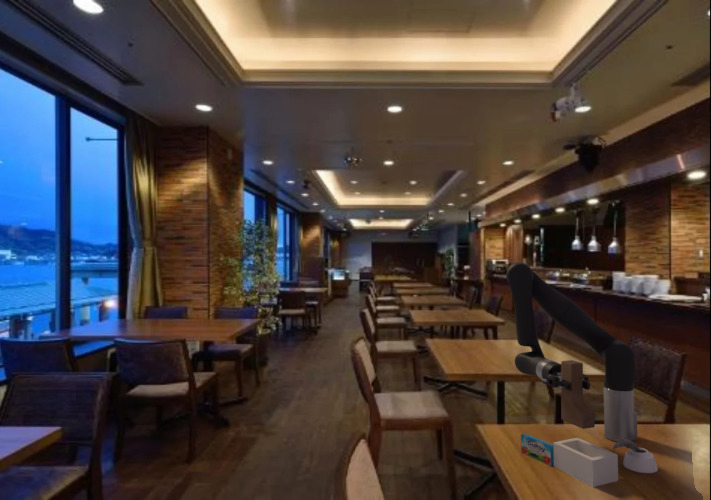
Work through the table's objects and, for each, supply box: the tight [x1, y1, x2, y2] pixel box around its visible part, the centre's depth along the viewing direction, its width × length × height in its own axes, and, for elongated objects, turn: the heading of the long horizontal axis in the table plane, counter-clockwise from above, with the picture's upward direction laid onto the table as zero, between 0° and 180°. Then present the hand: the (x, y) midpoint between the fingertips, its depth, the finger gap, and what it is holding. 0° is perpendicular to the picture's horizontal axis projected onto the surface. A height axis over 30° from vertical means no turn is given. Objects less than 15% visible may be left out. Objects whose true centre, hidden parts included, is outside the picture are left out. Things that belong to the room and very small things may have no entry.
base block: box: [552, 437, 619, 488], centre depth 147 cm, size 10×14×8 cm, turn 22°
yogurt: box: [520, 433, 554, 467], centre depth 158 cm, size 12×2×6 cm, turn 28°
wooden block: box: [560, 359, 596, 430], centre depth 151 cm, size 9×4×18 cm, turn 19°
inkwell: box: [612, 439, 659, 474], centre depth 148 cm, size 9×18×10 cm, turn 124°
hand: (579, 386), depth 149 cm, fingers closed on wooden block, 5 cm apart
